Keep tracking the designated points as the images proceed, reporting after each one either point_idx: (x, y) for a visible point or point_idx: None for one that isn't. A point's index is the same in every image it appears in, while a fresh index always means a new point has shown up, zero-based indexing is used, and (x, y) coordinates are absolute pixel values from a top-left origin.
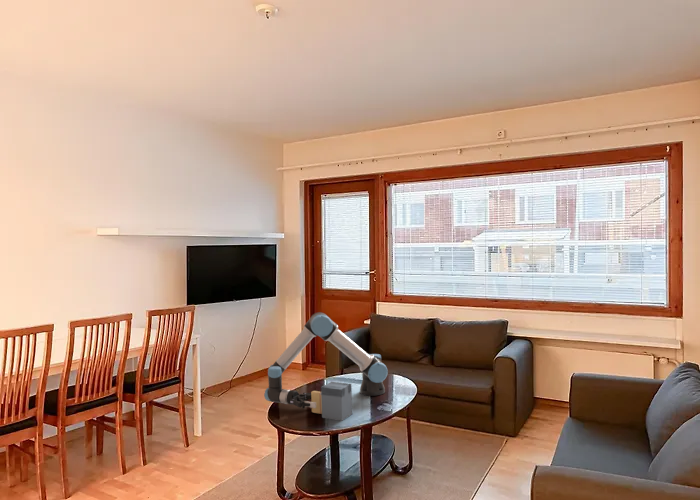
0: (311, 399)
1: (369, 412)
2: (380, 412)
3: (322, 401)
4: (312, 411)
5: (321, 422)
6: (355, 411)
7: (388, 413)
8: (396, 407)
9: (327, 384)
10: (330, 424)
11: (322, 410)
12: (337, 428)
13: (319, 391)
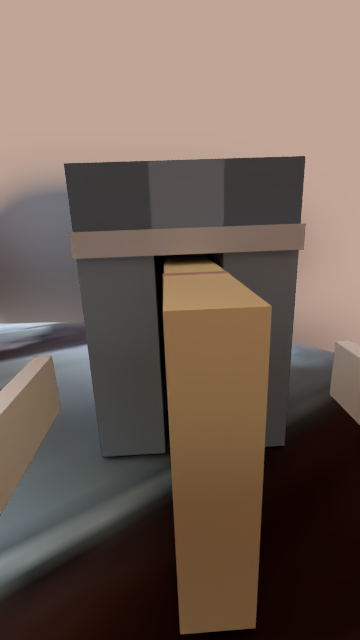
0: (263, 453)
1: (79, 347)
2: (73, 333)
3: (290, 308)
4: (251, 605)
5: (347, 414)
6: (73, 377)
7: (80, 323)
8: (8, 326)
9: (185, 162)
10: (319, 377)
11: (286, 386)
12: (324, 350)
13: (167, 282)
